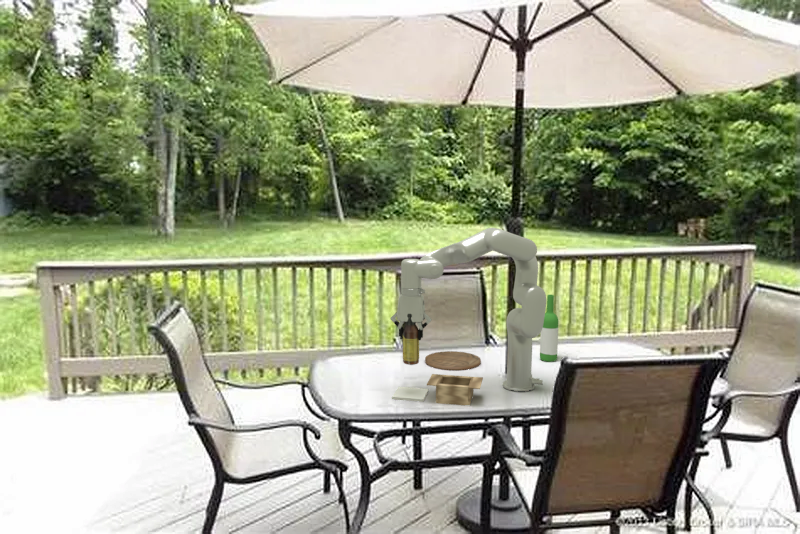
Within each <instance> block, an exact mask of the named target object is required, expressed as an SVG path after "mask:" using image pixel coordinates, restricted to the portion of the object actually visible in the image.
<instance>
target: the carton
mask: <svg viewBox="0 0 800 534" xmlns="http://www.w3.org/2000/svg"><path fill="white" fill-rule="evenodd" d="M483 379H484V377H481V376H468V375H467V376H465V375H464V376H463V375H451V374H437V373H436V374H435V373H432V374H431V376H430V377H429V379H428V381H427V383H426V386H428V387H429V386H430V387H432V386H433V387H435V404H439V405H440V404H442V405H453V406H465V405H470V406H471V404H472V401H473V398H472V397H474V392H475V391H474V390H481V387H482V384H483ZM471 400H472V401H471Z"/></svg>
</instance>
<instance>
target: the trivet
mask: <svg viewBox="0 0 800 534" xmlns="http://www.w3.org/2000/svg"><path fill="white" fill-rule="evenodd" d="M481 362H482V360H481V357H479V356H478V355H476V354H475V353H474V354H473V353H469V352H465V351H457V350H456V351H450V350H449V351H448V350H447V351H438V352H437V351H436V352H432V353H430V354H428V355H426V356H425V359H424V363H425V364H426V366H428V367H430V368H432V367H433V369H437V370H442V371H449V372H451V371H453V372H455V371H456V372H457V371H458V372H459V371H468V369H469V370H473V369H476V368H478V367H479V365H480V366H481V364H482V363H481Z"/></svg>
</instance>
